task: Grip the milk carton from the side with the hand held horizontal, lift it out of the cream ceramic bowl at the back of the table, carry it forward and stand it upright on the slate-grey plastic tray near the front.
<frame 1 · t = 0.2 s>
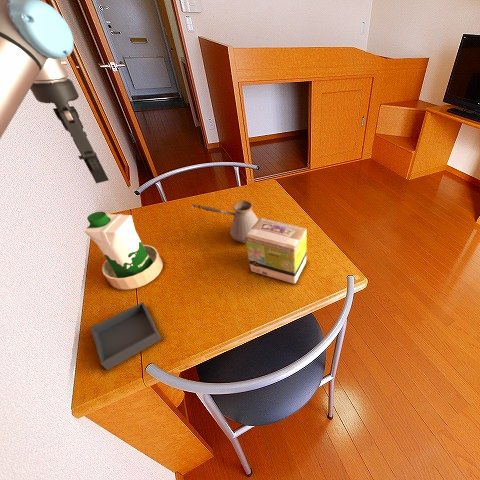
hand: (96, 171, 72), 28 cm above the table, tool pointing down, fingers open, 13 cm apart
bowl: (137, 271, 83), on the table
milk carton: (136, 270, 83), resting on bowl
tea box: (279, 268, 86), on the table
tray: (129, 336, 67), on the table
coffee pot: (233, 238, 97), on the table
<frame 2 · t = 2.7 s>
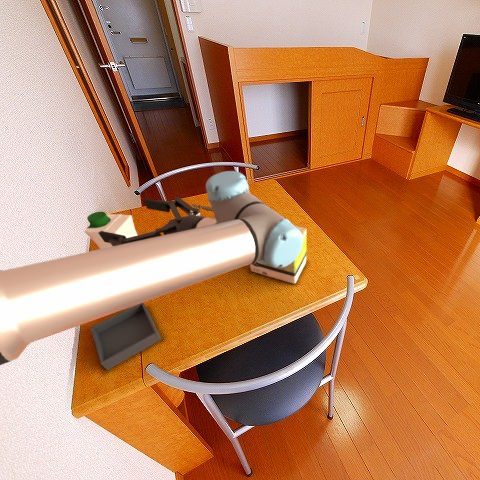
hand: (125, 218, 67), 22 cm above the table, tool horizontal, fingers open, 13 cm apart
nothing on the table moved.
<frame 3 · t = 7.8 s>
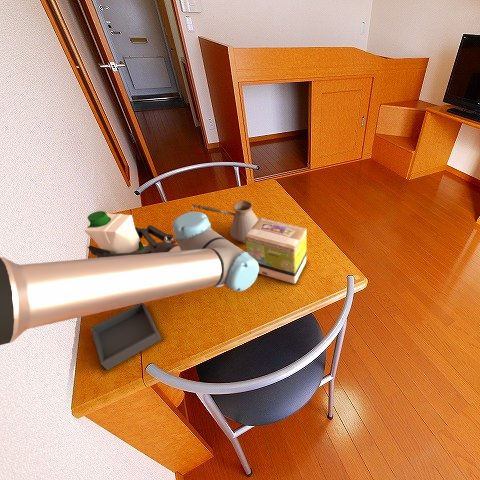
hand: (107, 239, 77), 11 cm above the table, tool horizontal, fingers closed on milk carton, 9 cm apart
milk carton: (136, 270, 83), resting on bowl, touching gripper
everything else where it was.
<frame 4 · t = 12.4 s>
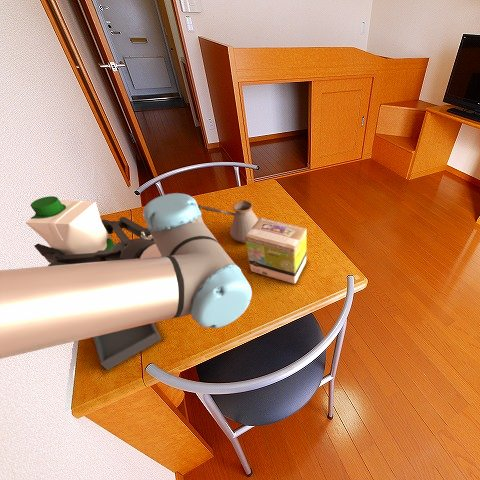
hand: (64, 235, 57), 25 cm above the table, tool horizontal, fingers closed on milk carton, 9 cm apart
milk carton: (107, 276, 64), point 14 cm above the table, touching gripper
everything else where it was.
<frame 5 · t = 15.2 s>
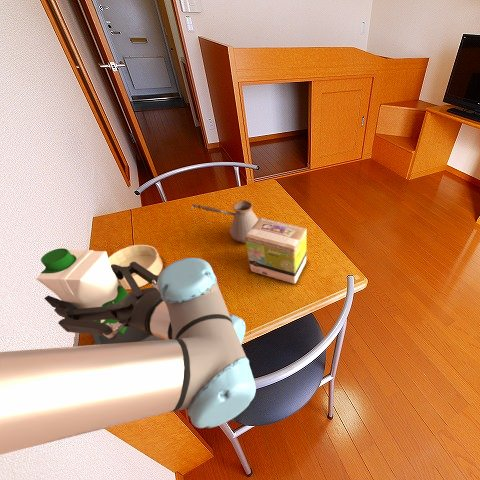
hand: (74, 282, 56), 18 cm above the table, tool horizontal, fingers closed on milk carton, 9 cm apart
milk carton: (117, 320, 63), point 7 cm above the table, touching gripper
everything else where it was.
when the fingers open (11 cm above the table, at t = 17.5 s): milk carton stays where it is, resting on tray.
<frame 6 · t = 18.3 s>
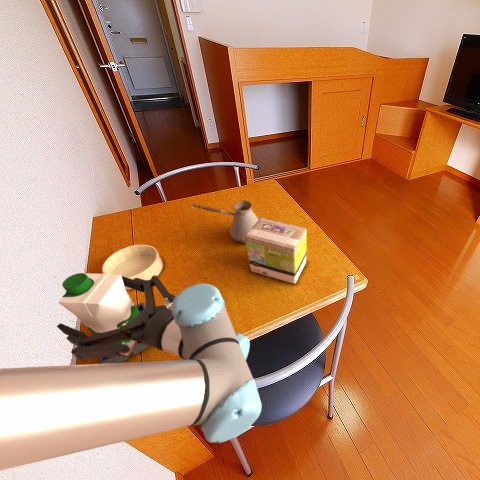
hand: (93, 302, 60), 12 cm above the table, tool horizontal, fingers open, 13 cm apart
milk carton: (129, 335, 67), resting on tray
everything else where it was.
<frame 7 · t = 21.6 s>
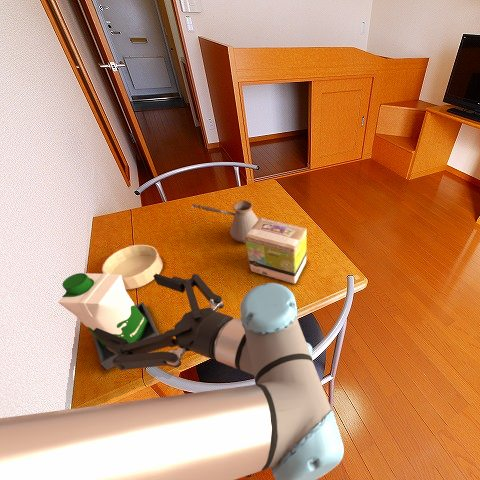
hand: (130, 303, 53), 18 cm above the table, tool horizontal, fingers open, 13 cm apart
nothing on the table moved.
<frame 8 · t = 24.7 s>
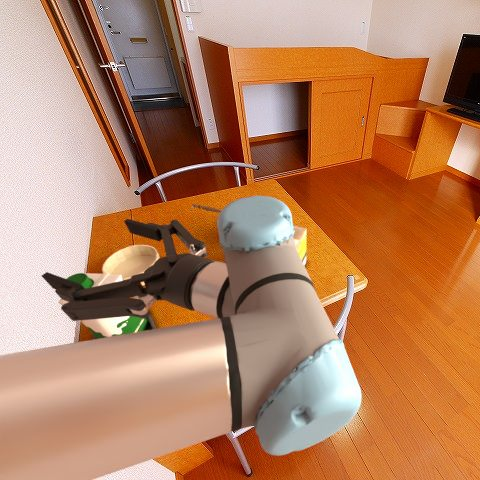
hand: (93, 250, 44), 32 cm above the table, tool horizontal, fingers open, 13 cm apart
nothing on the table moved.
at the end: milk carton inside the target area in the tray (0.1 cm from its centre), point 0.3 cm above the tray's base; milk carton tilted 0°; the gripper is holding nothing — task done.
